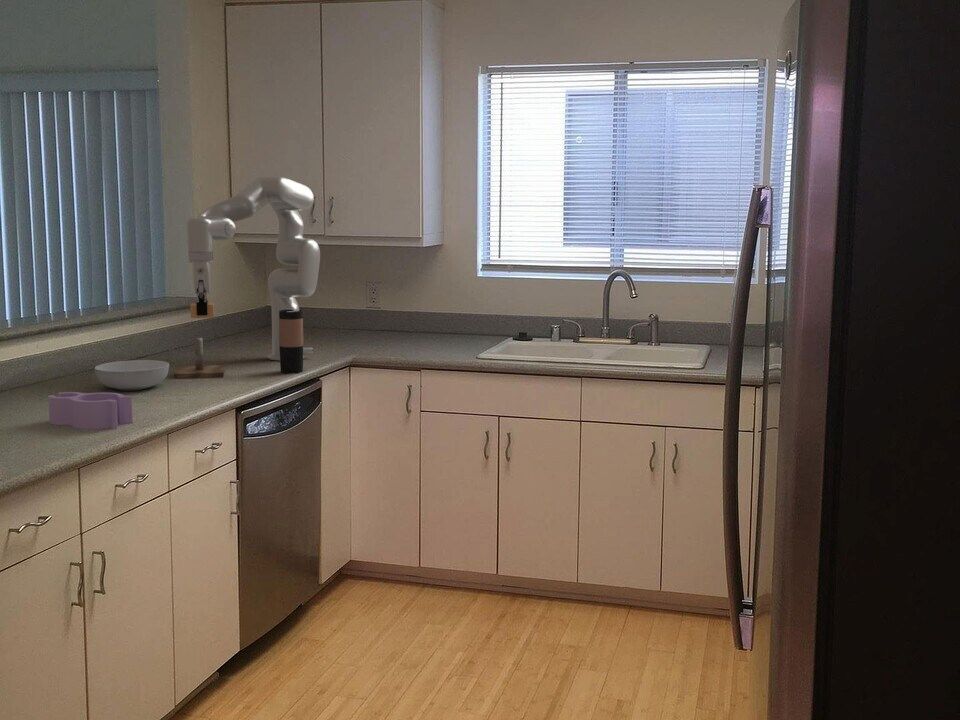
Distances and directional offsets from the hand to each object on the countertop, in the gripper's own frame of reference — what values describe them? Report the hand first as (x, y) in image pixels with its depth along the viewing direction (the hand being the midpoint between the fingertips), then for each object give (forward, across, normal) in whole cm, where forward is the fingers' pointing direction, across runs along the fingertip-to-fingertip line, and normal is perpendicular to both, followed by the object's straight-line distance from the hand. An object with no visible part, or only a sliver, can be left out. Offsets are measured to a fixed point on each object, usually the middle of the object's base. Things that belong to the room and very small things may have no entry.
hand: (202, 313), depth 332 cm
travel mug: (+20, +1, -28) cm, 34 cm away
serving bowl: (+20, -20, +20) cm, 35 cm away
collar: (+1, 0, 0) cm, 1 cm away
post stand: (+20, +2, +2) cm, 20 cm away
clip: (+20, -69, +26) cm, 77 cm away
